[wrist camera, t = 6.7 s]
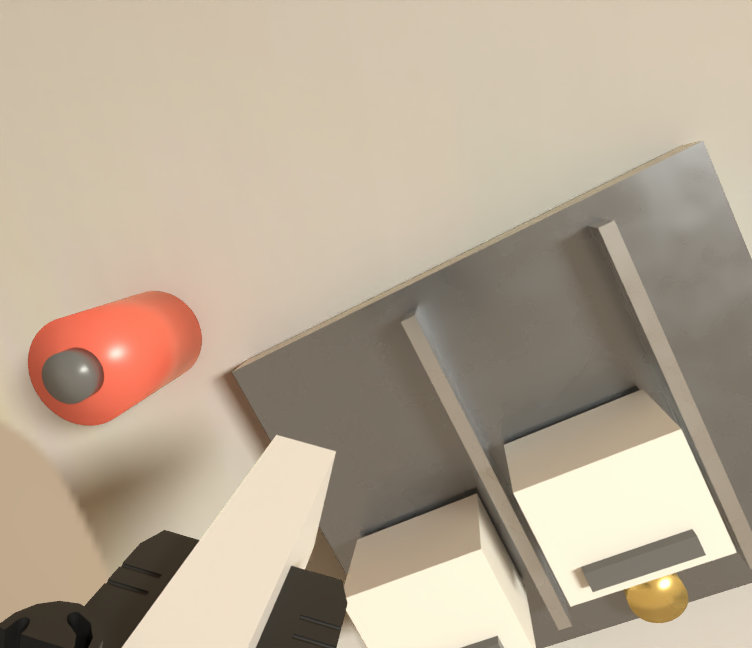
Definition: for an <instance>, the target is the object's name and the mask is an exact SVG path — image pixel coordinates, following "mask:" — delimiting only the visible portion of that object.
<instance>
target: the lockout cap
mask: <svg viewBox="0 0 752 648" xmlns="http://www.w3.org/2000/svg"><path fill="white" fill-rule="evenodd" d="M201 345H202V335H201V329H200V326H199V323H198V320H197V318H196V316H195V315H194V313H193V312H192V310H191V309H190V308H189V307H188V306H187V305H186V304H185V303H184V302H183V301H181V300H180V299H179V298H177V297H175V296H173V295H171V294H169V293H165V292H160V291H149V292H144V293H141V294H137V295H134V296H131V297H128V298H124V299H121V300H118V301H115V302H111V303H108V304H105V305H102V306H98V307H95V308H92V309H89V310H85V311H82V312H79V313H76V314H72V315H69V316H66V317H63V318H59V319H56V320H54V321H52V322H50V323H48V324H47V325H45V326H44V327H43V328H42V329H41V330H40V331H39V332H38V333H37V334H36V336H35V338H34V339H33V341H32V344H31V346H30V350H29V355H28V369H29V375H30V378H31V382H32V384H33V387H34V389H35V391H36V392H37V394H38V396H39V397H40V399H41V400H42V401H43V402H44V404H45V405H46V406H47V407H48V408H49V409H50V410H51V411H53V412H54V413H55V414H57V415H58V416H60V417H61V418H63V419H65V420H67V421H70V422H72V423H76V424H80V425H99V424H103V423H106V422H108V421H110V420H112V419H114V418H115V417H117V416H119V415H120V414H122V413H123V412H125V411H126V410H128V409H129V408H131V407H132V406H134V405H135V404H137V403H139V402H140V401H142V400H143V399H145V398H146V397H148V396H149V395H151V394H152V393H154V392H155V391H157V390H159V389H160V388H162V387H163V386H165V385H166V384H168V383H169V382H171V381H172V380H174V379H176V378H177V377H179V376H180V375H182V374H183V373H185V372H186V371H188V370H189V369H190V368H191V367H192V366H193V365H194V363H195V362H196V360H197V358H198V356H199V354H200V351H201Z"/></svg>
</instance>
